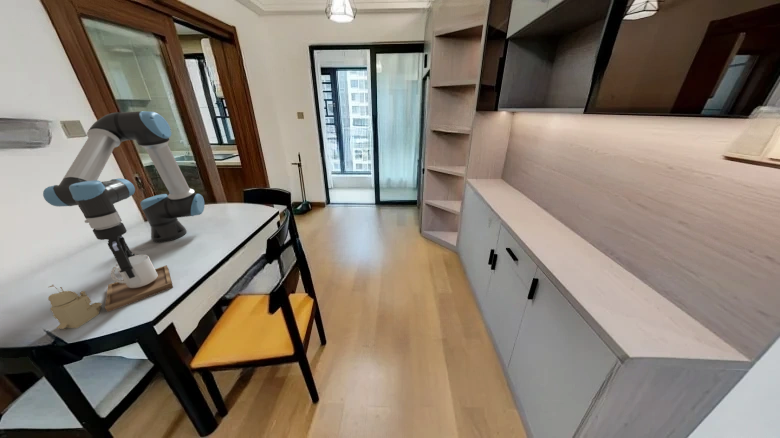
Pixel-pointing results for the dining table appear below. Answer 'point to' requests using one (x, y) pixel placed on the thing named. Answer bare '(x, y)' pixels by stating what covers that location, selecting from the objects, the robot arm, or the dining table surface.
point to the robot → (72, 308)
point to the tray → (136, 290)
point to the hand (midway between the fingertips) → (136, 278)
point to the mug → (138, 271)
